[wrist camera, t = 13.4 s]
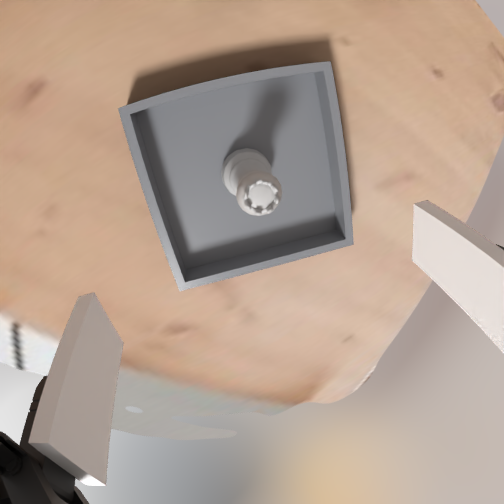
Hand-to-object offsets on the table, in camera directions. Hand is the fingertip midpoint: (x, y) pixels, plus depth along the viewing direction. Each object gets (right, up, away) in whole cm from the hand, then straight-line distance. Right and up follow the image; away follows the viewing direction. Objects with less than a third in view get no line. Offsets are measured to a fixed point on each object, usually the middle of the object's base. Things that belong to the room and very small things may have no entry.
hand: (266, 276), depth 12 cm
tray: (-1, +8, +17) cm, 19 cm away
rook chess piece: (-1, +8, +17) cm, 19 cm away
